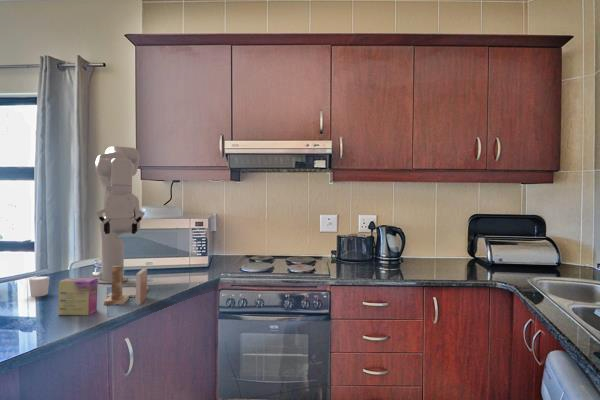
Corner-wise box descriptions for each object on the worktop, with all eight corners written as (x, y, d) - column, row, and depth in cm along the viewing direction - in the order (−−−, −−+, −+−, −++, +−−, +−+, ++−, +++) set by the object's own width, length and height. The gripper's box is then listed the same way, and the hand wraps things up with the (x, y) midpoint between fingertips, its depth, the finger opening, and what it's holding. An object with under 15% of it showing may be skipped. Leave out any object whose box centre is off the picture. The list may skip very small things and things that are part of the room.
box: (97, 310, 127) (97, 277, 127) (88, 315, 122) (89, 281, 122) (68, 310, 127) (68, 277, 127) (57, 315, 121) (58, 281, 121)
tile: (135, 305, 134) (136, 273, 134) (142, 297, 144) (143, 268, 144) (140, 304, 135) (141, 273, 135) (147, 297, 144) (147, 268, 144)
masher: (103, 305, 134) (104, 268, 134) (110, 299, 141) (110, 264, 140) (123, 304, 135) (124, 267, 135) (129, 299, 142) (129, 264, 142)
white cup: (46, 291, 150) (46, 275, 150) (51, 294, 146) (52, 277, 146) (26, 294, 145) (26, 277, 145) (31, 298, 141) (31, 280, 140)
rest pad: (106, 298, 142) (106, 295, 142) (117, 289, 155) (117, 287, 155) (140, 297, 145) (141, 294, 145) (148, 288, 157) (148, 286, 157)
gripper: (93, 189, 133) (93, 234, 133) (142, 190, 136) (141, 234, 136) (101, 189, 140) (100, 232, 141) (147, 190, 144) (146, 232, 144)
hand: (120, 233), depth 138 cm, fingers open, 9 cm apart
